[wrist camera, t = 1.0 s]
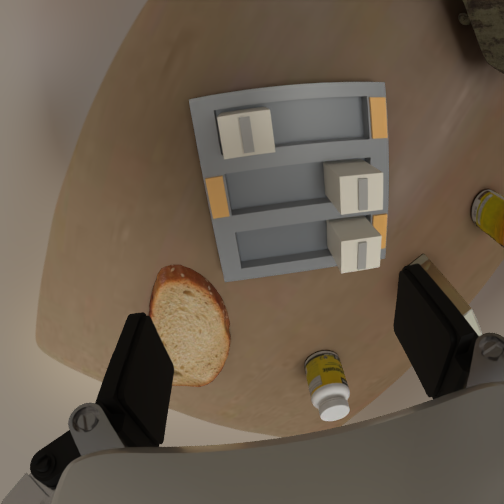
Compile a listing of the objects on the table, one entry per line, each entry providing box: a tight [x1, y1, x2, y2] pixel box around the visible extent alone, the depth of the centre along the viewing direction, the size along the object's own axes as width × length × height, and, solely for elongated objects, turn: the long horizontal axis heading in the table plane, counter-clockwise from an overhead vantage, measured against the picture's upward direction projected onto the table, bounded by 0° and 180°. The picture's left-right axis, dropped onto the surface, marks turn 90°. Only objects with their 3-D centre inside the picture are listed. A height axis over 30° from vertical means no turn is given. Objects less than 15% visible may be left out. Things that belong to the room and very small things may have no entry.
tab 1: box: [323, 159, 383, 215], centre depth 28 cm, size 3×4×6 cm
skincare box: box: [410, 254, 482, 336], centre depth 33 cm, size 6×4×12 cm
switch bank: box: [189, 82, 389, 282], centre depth 30 cm, size 19×18×3 cm
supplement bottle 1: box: [305, 351, 350, 421], centre depth 41 cm, size 5×5×10 cm
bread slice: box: [149, 265, 231, 387], centre depth 40 cm, size 18×18×4 cm
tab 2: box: [326, 215, 382, 273], centre depth 31 cm, size 3×4×6 cm
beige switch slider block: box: [217, 107, 275, 159], centre depth 25 cm, size 3×4×6 cm
